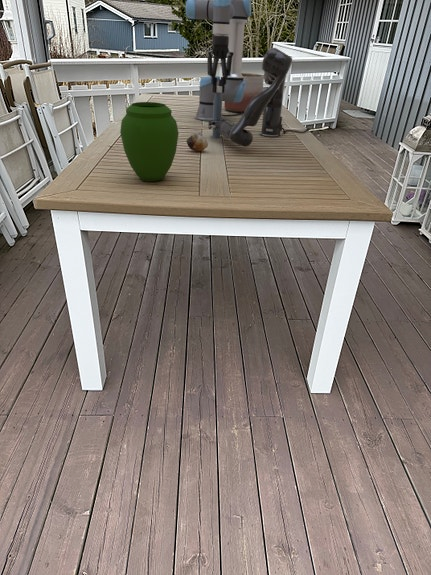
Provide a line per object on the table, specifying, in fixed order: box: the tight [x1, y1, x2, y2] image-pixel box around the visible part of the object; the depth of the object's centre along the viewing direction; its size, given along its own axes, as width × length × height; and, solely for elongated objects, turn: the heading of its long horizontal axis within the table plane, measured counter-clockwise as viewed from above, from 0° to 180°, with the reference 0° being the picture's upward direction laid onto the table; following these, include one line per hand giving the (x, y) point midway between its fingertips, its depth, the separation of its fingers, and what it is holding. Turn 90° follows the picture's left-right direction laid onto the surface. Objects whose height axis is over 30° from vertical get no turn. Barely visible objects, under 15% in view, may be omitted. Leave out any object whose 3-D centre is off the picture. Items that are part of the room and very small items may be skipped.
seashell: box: [186, 132, 209, 152], centre depth 180 cm, size 10×6×8 cm, turn 97°
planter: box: [223, 72, 265, 114], centre depth 275 cm, size 25×25×22 cm
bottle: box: [211, 92, 223, 139], centre depth 202 cm, size 4×4×23 cm
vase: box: [119, 101, 179, 182], centre depth 140 cm, size 20×20×24 cm
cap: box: [216, 86, 222, 93], centre depth 197 cm, size 4×4×2 cm
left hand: (218, 92), depth 197 cm, fingers closed on cap, 4 cm apart
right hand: (215, 122), depth 207 cm, fingers closed on bottle, 4 cm apart
